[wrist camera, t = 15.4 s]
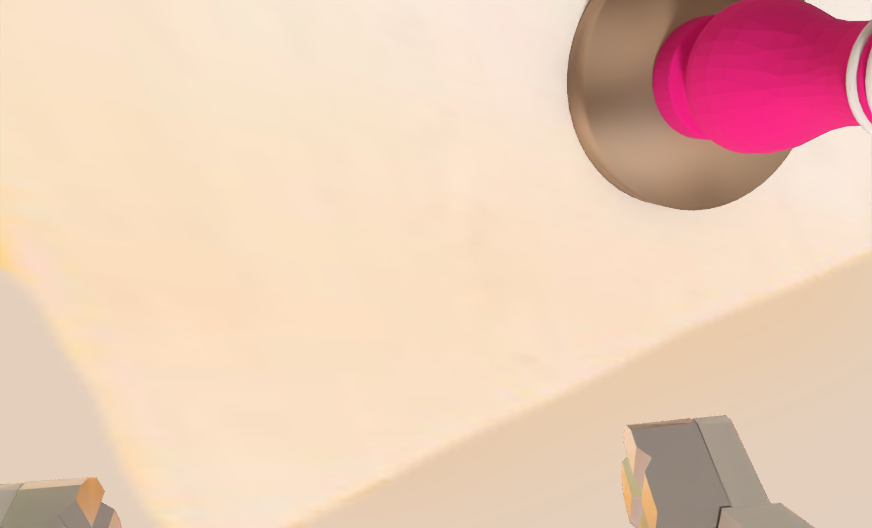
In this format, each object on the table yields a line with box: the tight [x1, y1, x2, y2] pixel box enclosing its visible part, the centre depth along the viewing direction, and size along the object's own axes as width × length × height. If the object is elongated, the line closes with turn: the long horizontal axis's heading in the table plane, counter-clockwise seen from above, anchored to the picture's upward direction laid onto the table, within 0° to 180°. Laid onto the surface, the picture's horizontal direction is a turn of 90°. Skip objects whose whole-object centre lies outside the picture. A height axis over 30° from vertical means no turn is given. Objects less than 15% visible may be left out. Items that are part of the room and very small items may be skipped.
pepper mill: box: [652, 0, 872, 154], centre depth 32 cm, size 7×7×20 cm
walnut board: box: [567, 0, 805, 210], centre depth 42 cm, size 14×14×2 cm
